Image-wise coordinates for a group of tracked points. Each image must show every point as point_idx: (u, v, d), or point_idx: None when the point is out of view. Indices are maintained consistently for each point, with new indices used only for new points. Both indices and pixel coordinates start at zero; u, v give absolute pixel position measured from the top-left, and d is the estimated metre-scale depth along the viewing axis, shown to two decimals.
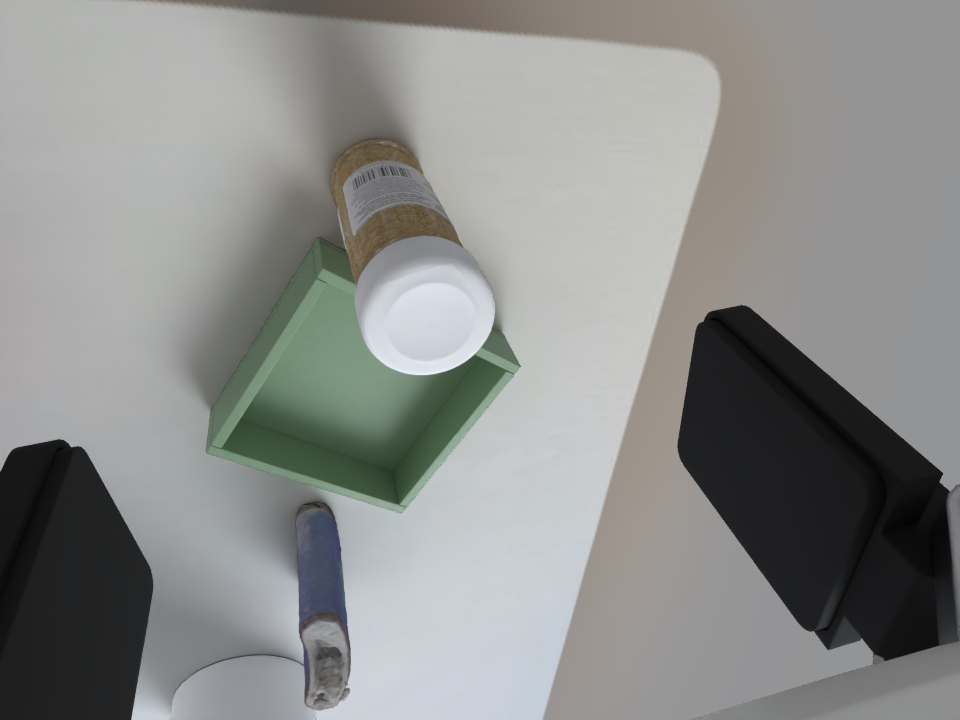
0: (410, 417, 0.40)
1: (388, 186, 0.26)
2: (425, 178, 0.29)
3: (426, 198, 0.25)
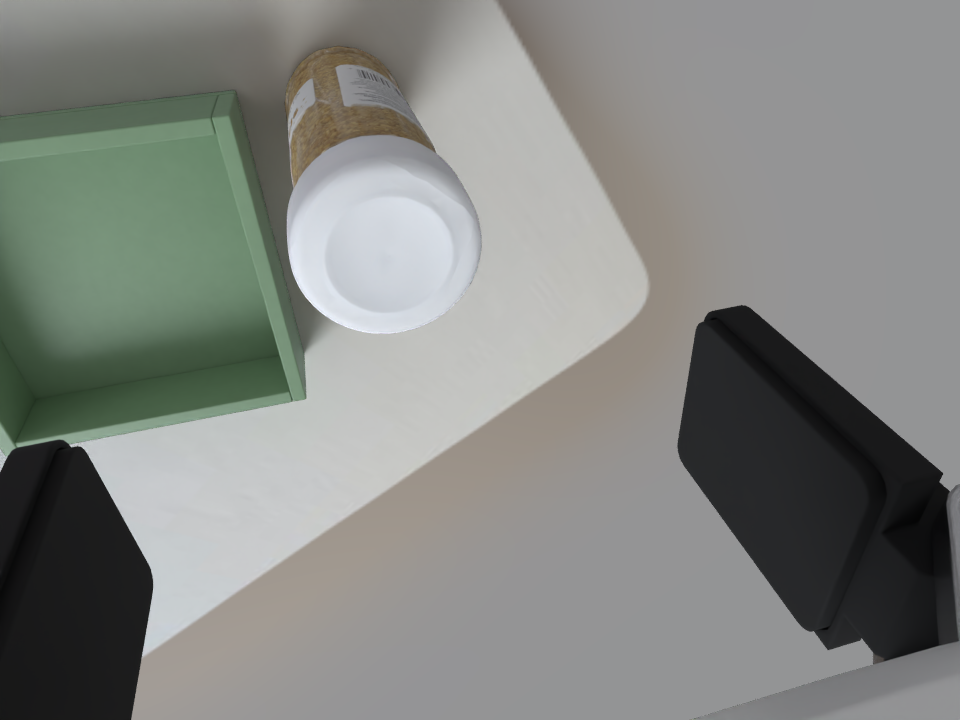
0: (125, 357, 0.29)
1: (405, 105, 0.20)
2: None
3: None
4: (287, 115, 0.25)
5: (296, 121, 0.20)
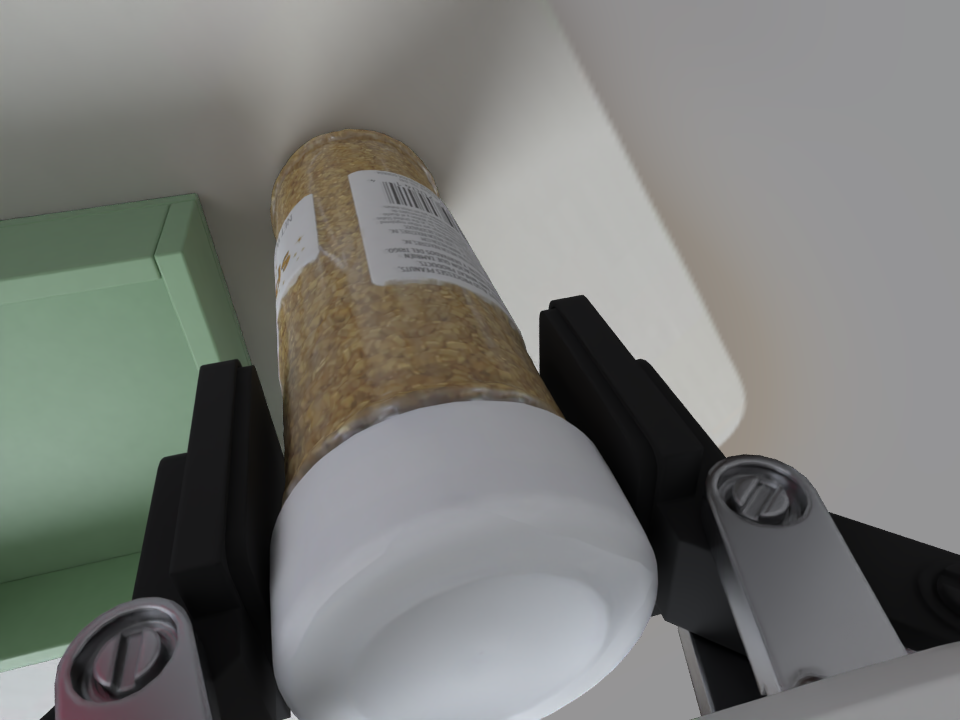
0: (52, 541, 0.21)
1: (465, 251, 0.12)
2: None
3: None
4: (274, 228, 0.17)
5: (287, 283, 0.12)
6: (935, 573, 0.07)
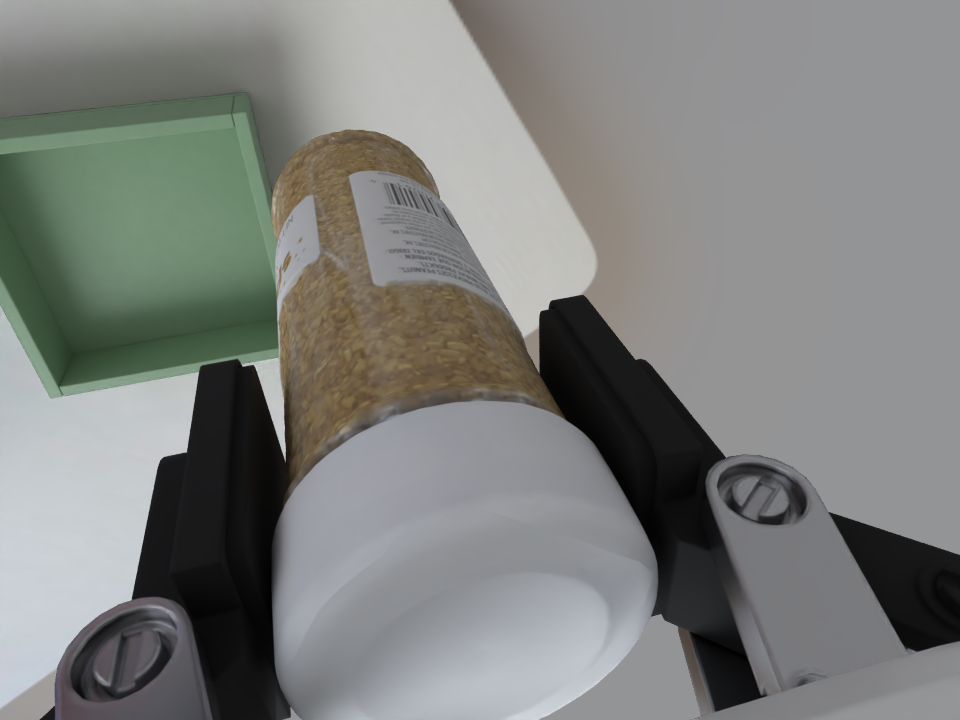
0: (149, 317, 0.34)
1: (466, 252, 0.12)
2: None
3: None
4: (275, 228, 0.17)
5: (288, 283, 0.12)
6: (936, 573, 0.07)
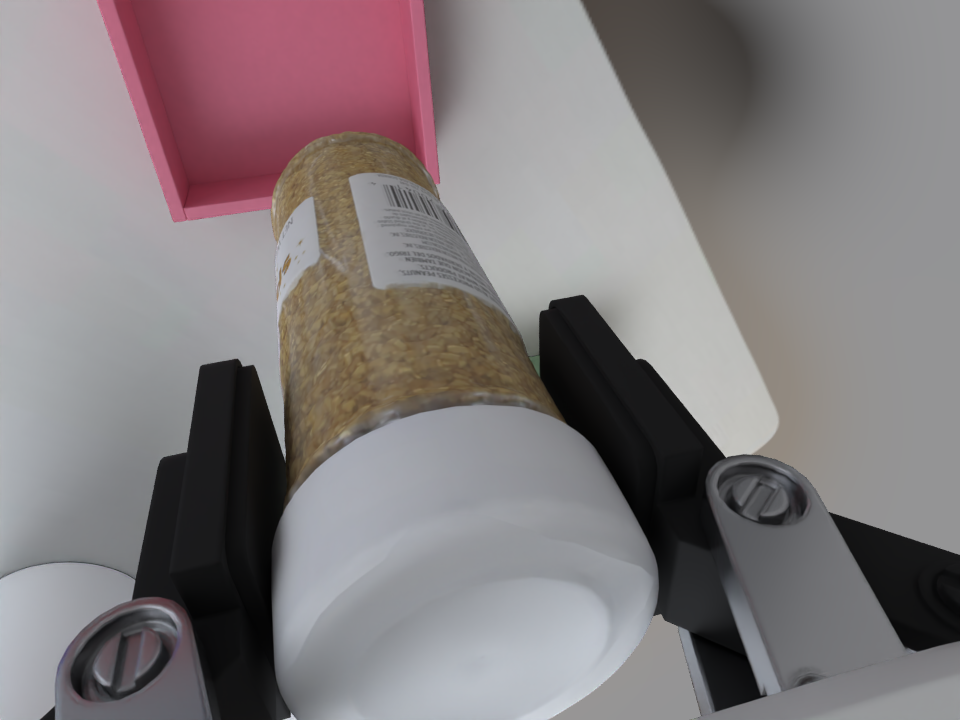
0: None
1: (465, 254, 0.12)
2: None
3: None
4: (274, 230, 0.17)
5: (288, 286, 0.12)
6: (935, 573, 0.07)
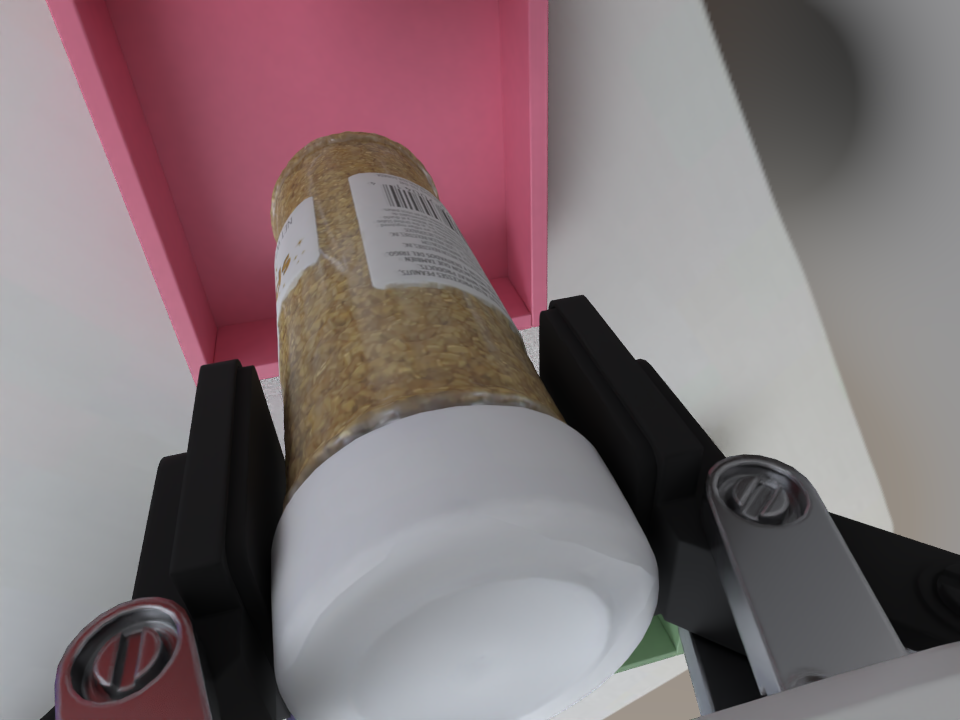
0: None
1: (465, 254, 0.12)
2: None
3: None
4: (274, 230, 0.17)
5: (288, 286, 0.12)
6: (935, 573, 0.07)
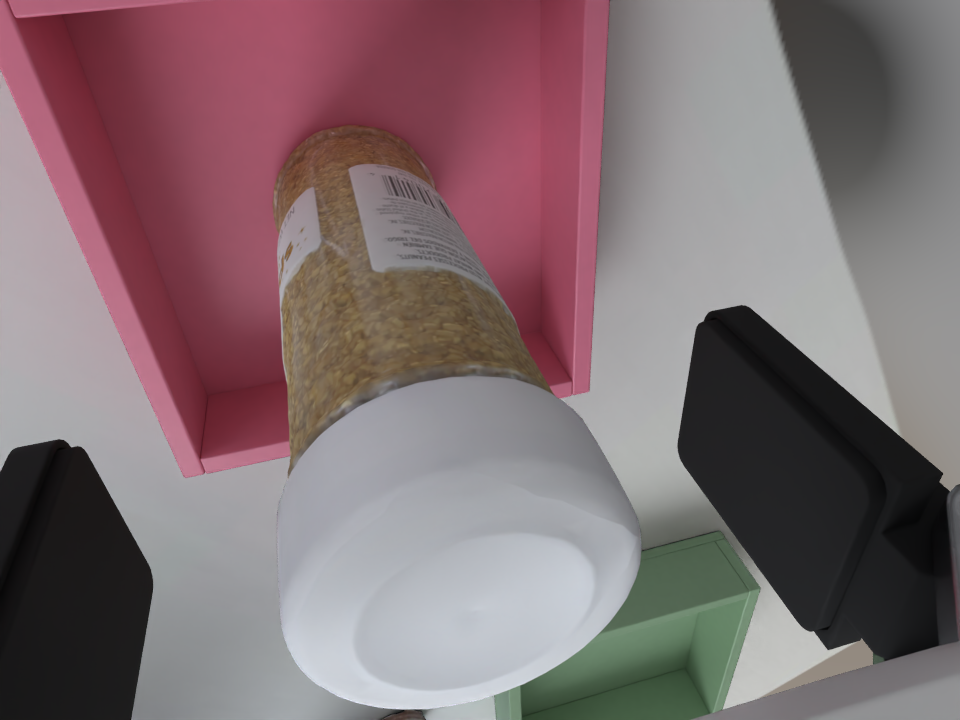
0: (578, 687, 0.37)
1: (461, 241, 0.13)
2: None
3: None
4: (276, 221, 0.17)
5: (290, 271, 0.12)
6: None
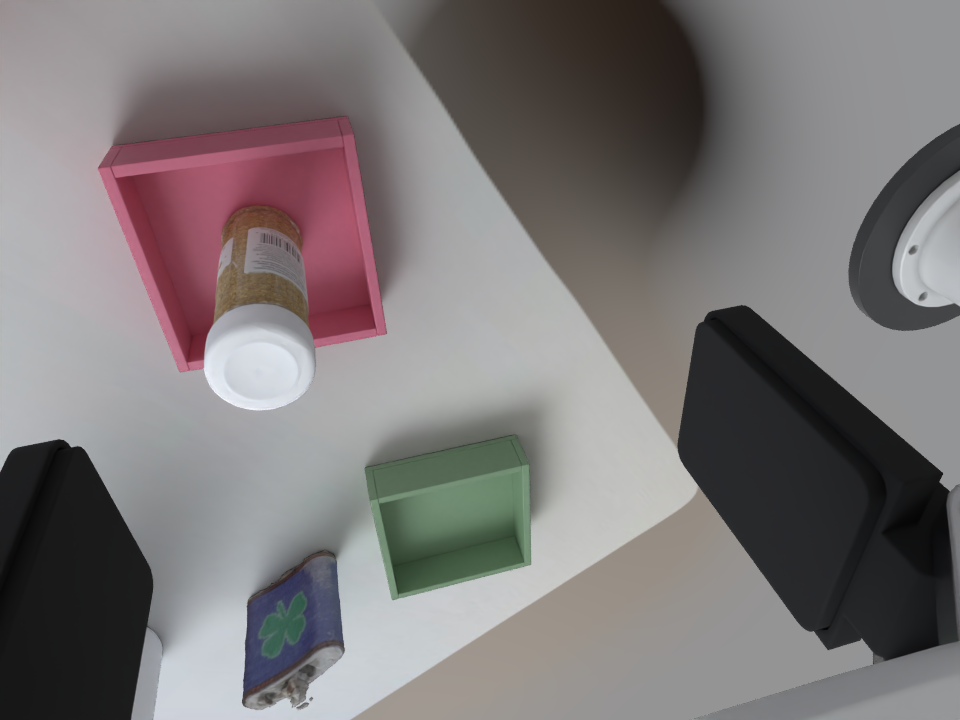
0: (438, 544, 0.57)
1: (287, 261, 0.33)
2: None
3: (305, 290, 0.33)
4: None
5: (219, 273, 0.32)
6: None
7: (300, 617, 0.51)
